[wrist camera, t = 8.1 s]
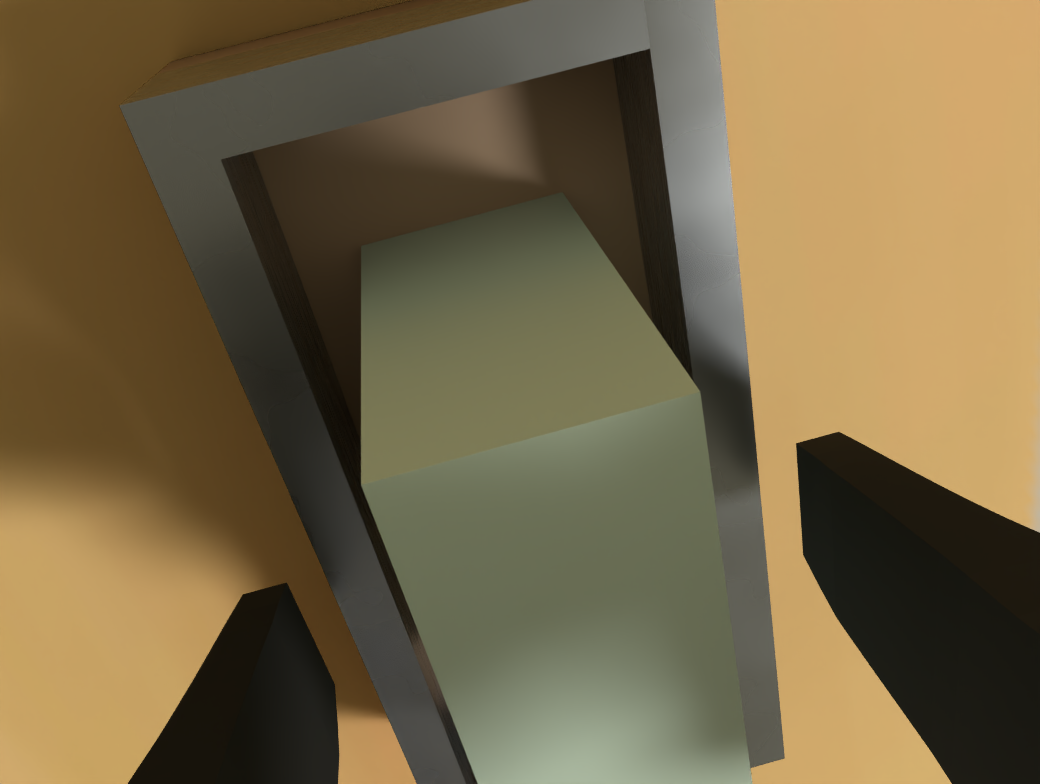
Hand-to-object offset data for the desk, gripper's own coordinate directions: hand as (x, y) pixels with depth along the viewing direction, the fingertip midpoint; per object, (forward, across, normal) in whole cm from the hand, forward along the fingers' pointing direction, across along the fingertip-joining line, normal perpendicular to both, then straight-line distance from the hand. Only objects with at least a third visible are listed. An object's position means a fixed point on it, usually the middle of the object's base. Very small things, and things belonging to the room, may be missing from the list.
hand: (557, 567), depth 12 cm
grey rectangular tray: (+4, 0, 0) cm, 4 cm away
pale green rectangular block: (+3, 0, 0) cm, 3 cm away
